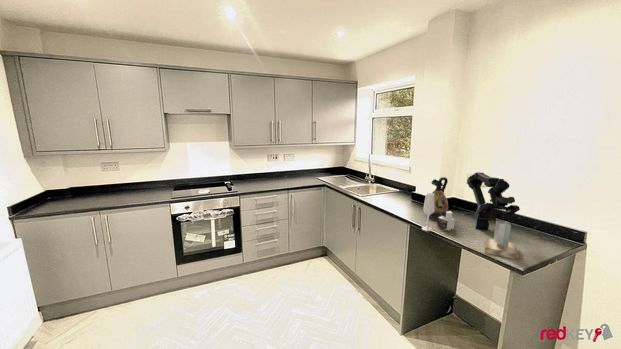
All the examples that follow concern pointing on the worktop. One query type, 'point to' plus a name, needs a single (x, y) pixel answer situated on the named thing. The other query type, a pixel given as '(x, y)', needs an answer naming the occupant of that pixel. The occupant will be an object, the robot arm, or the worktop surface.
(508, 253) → the shallow cream tray
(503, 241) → the block
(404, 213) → the worktop surface
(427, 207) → the champagne flute
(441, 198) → the ceramic jug
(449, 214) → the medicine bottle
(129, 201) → the worktop surface
